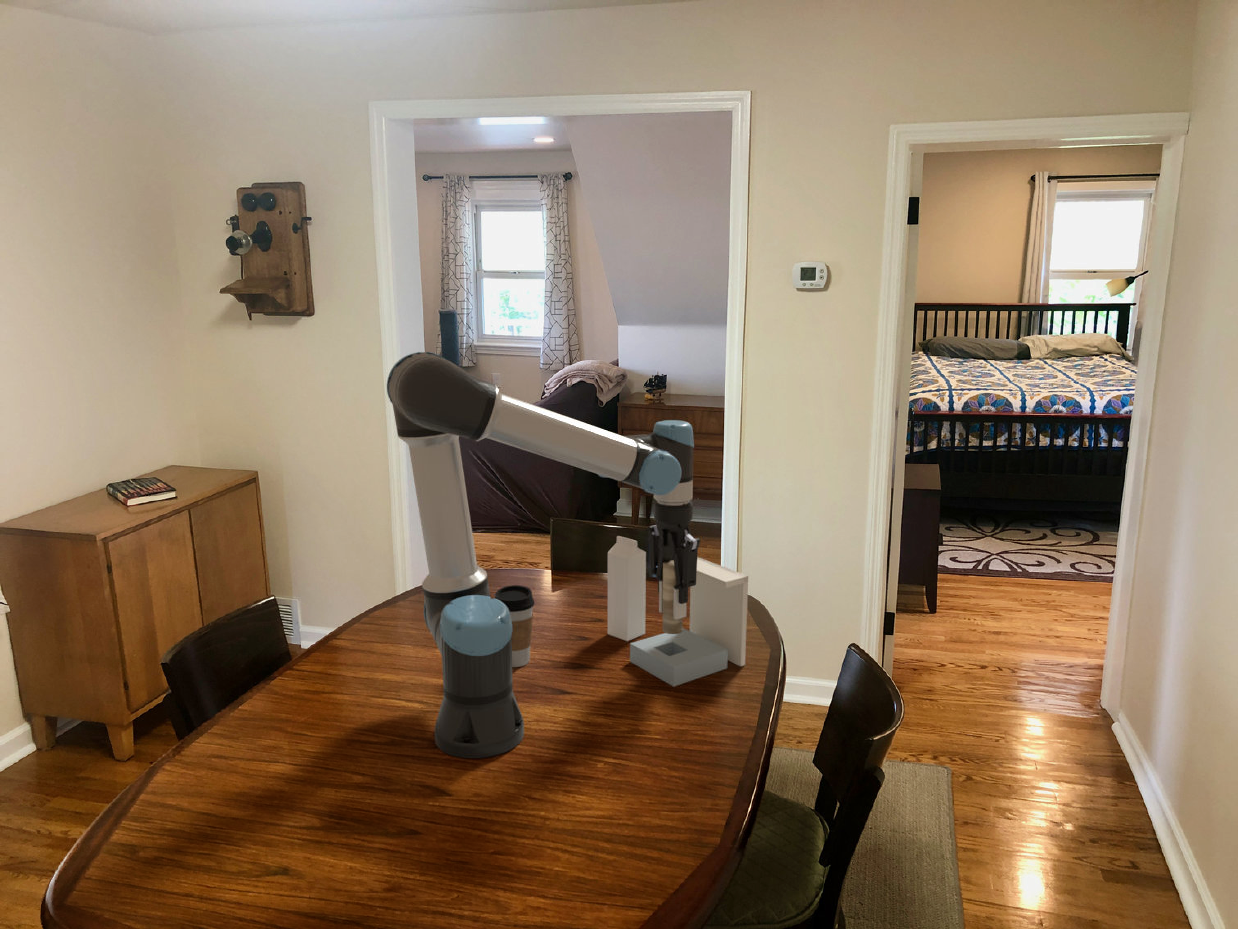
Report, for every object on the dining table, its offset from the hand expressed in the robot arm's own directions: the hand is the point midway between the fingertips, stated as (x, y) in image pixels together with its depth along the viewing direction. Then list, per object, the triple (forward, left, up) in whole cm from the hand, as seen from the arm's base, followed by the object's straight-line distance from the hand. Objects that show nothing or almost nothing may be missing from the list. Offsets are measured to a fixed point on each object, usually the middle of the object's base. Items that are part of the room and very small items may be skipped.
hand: (672, 614), depth 178 cm
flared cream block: (+10, 0, -11) cm, 15 cm away
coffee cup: (-24, +21, -12) cm, 34 cm away
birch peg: (0, 0, -4) cm, 4 cm away
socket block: (+2, 0, -11) cm, 12 cm away
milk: (+3, +19, -12) cm, 23 cm away
